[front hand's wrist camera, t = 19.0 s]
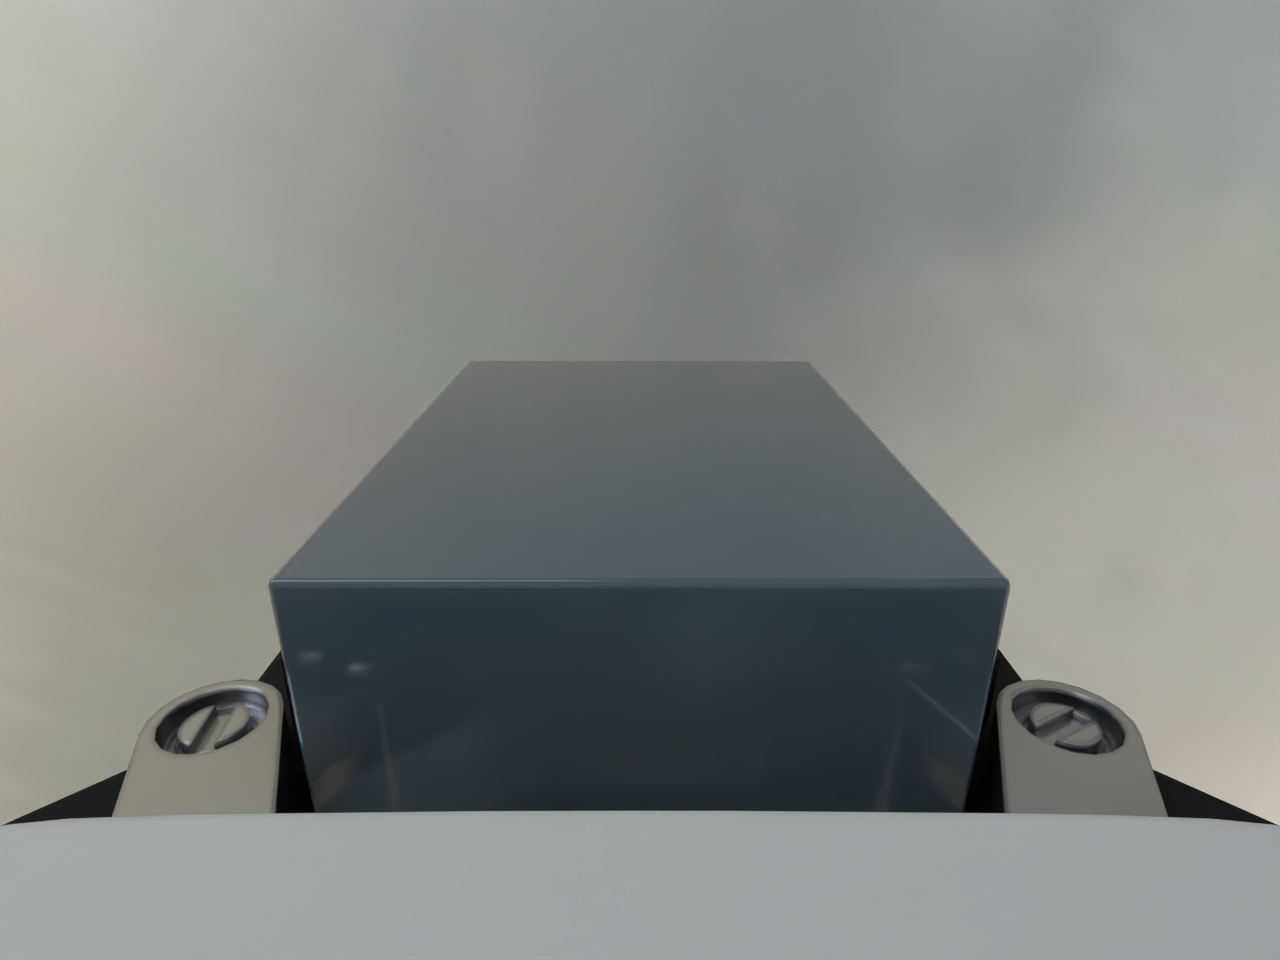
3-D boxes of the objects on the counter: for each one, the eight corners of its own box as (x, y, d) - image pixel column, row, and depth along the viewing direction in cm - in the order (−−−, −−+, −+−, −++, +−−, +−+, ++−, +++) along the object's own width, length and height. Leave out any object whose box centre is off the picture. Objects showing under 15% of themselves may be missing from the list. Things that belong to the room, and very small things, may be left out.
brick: (809, 360, 13) (1014, 581, 6) (785, 656, 15) (913, 1075, 8) (468, 360, 13) (263, 580, 6) (492, 656, 15) (363, 1077, 8)
